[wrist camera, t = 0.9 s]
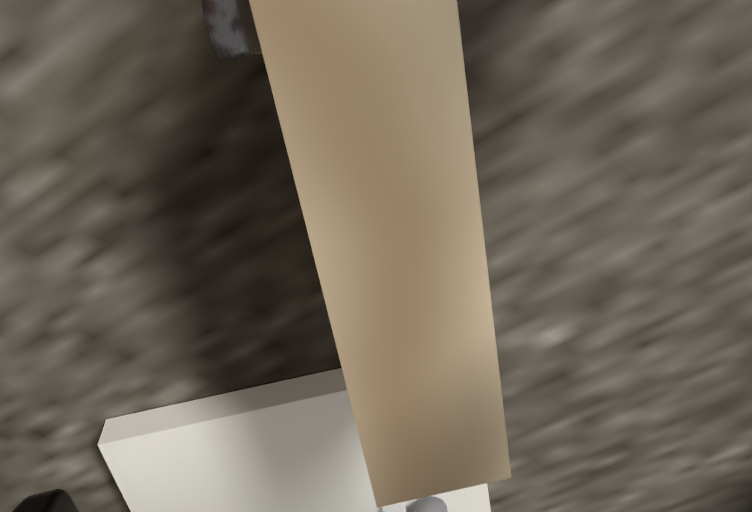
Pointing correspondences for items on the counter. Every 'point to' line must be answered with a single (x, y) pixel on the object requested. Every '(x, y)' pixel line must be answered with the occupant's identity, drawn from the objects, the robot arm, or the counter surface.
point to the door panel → (389, 224)
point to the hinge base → (256, 454)
